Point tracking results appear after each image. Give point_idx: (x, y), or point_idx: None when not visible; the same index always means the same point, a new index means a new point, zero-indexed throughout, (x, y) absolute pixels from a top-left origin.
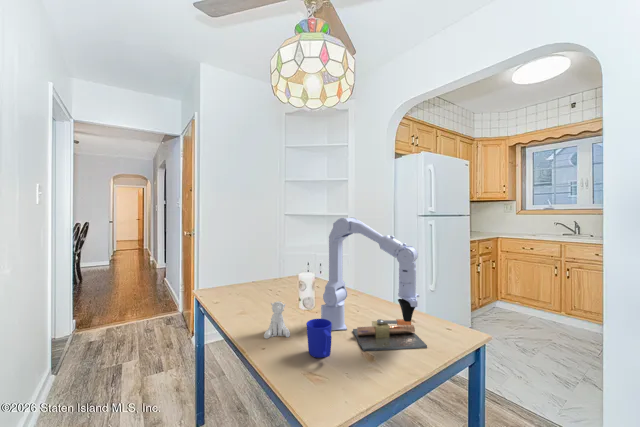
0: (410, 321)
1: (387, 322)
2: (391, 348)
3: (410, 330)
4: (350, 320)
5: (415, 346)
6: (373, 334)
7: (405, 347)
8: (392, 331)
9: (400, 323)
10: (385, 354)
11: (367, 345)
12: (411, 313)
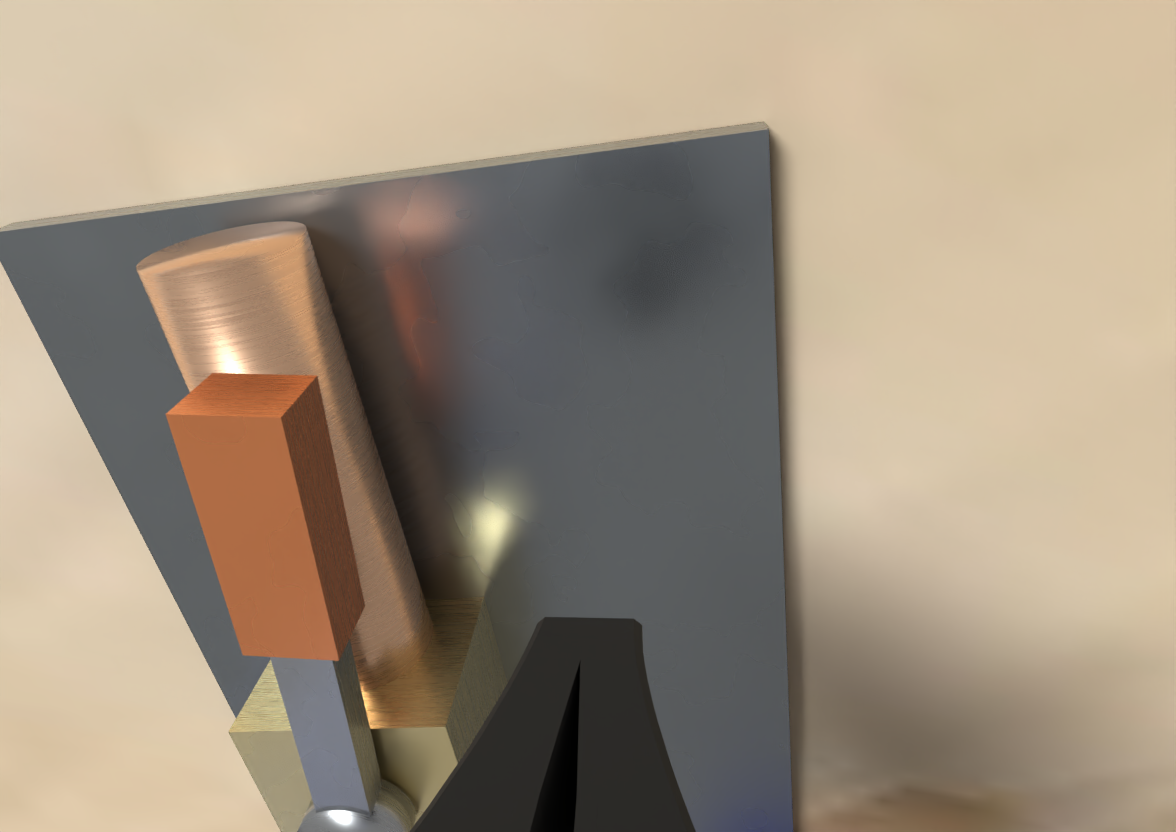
0: (639, 624)
1: (365, 760)
2: (785, 628)
3: (324, 323)
4: (35, 821)
5: (772, 333)
6: None
7: (779, 472)
8: (415, 595)
9: (344, 581)
10: (890, 692)
11: (720, 826)
12: (666, 820)
